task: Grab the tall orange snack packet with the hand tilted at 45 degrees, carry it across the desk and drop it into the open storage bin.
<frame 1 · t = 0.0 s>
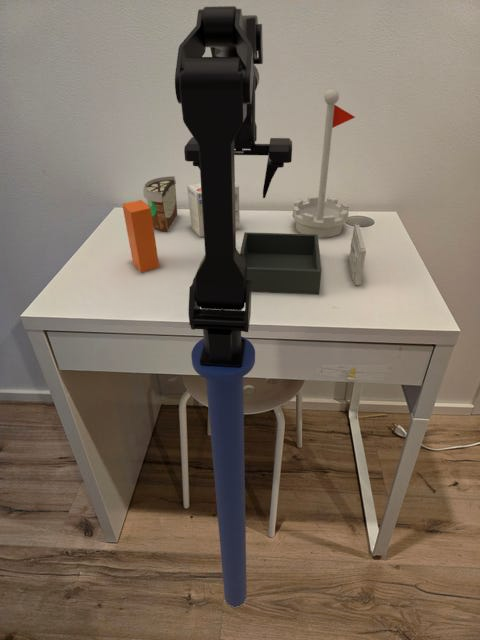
hand: (239, 196, 82), 15 cm above the table, tool pointing down, fingers open, 9 cm apart
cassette: (354, 271, 89), on the table
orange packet: (145, 265, 92), on the table
light bulb box: (215, 229, 106), on the table
flag stand: (318, 228, 105), on the table
food container: (161, 224, 109), on the table
open storage bin: (278, 272, 88), on the table
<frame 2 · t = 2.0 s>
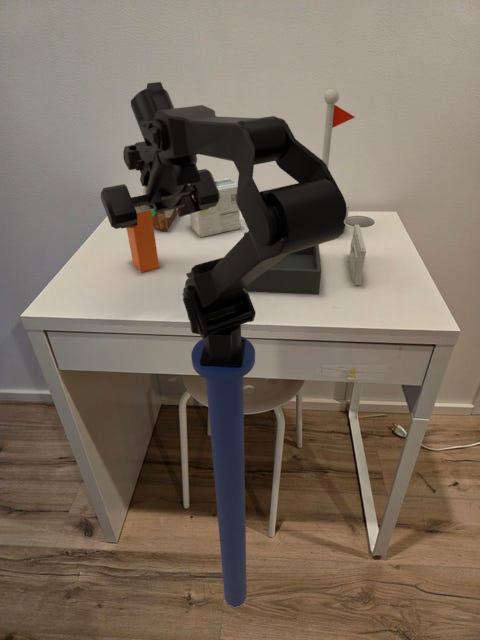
hand: (155, 220, 79), 13 cm above the table, tool tilted 45°, fingers open, 9 cm apart
nothing on the table moved.
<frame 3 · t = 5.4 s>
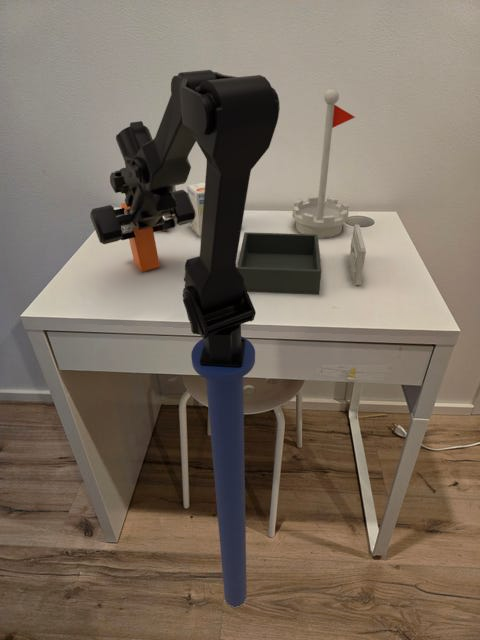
hand: (138, 233, 89), 7 cm above the table, tool tilted 45°, fingers closed on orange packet, 4 cm apart
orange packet: (146, 264, 92), on the table, touching gripper
everything else where it was.
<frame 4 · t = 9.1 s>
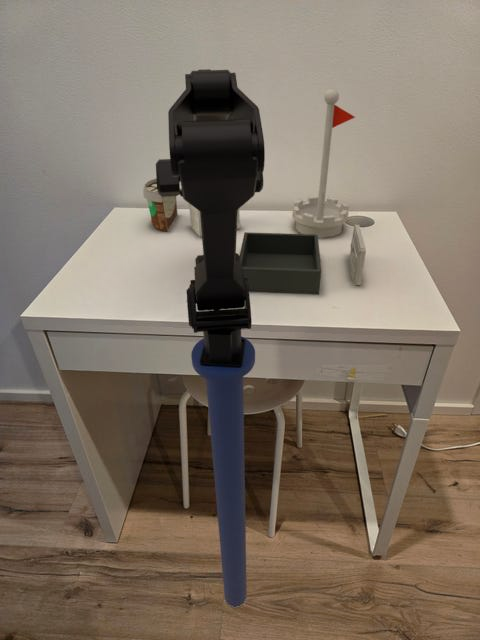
hand: (210, 196, 86), 14 cm above the table, tool tilted 45°, fingers closed on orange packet, 4 cm apart
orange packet: (213, 230, 89), point 7 cm above the table, touching gripper
everything else where it was.
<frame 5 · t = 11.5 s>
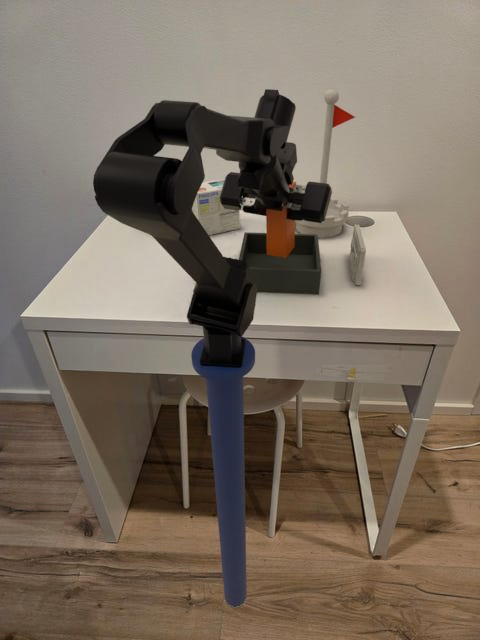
hand: (283, 216, 83), 12 cm above the table, tool tilted 45°, fingers closed on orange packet, 4 cm apart
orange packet: (280, 250, 85), point 5 cm above the table, touching gripper
everything else where it was.
when the fingers open (7 cm above the table, at t = 13.1 s): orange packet stays where it is, resting on open storage bin.
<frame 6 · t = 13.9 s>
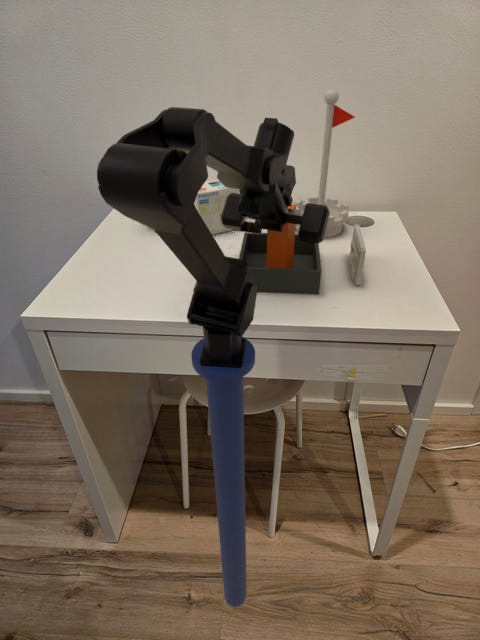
hand: (282, 234, 85), 8 cm above the table, tool tilted 45°, fingers open, 9 cm apart
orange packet: (280, 270, 88), point 1 cm above the table, touching open storage bin
everything else where it was.
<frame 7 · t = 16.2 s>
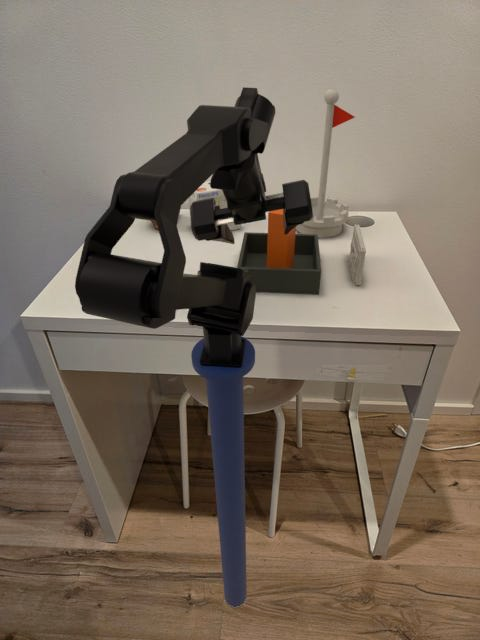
hand: (259, 236, 75), 12 cm above the table, tool tilted 35°, fingers open, 9 cm apart
nothing on the table moved.
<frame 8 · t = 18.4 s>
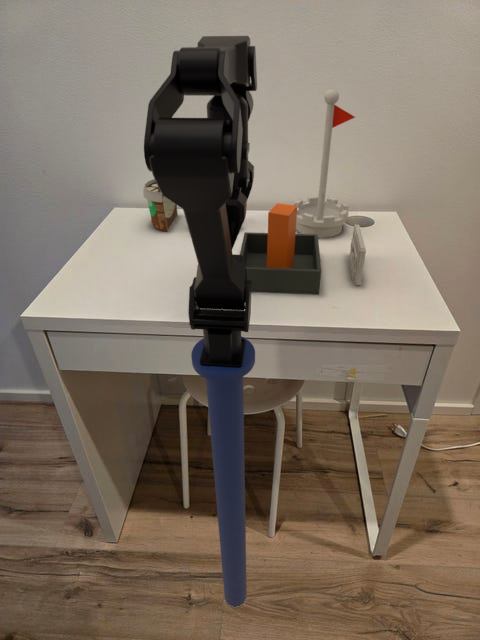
hand: (231, 238, 72), 13 cm above the table, tool pointing down, fingers open, 9 cm apart
nothing on the table moved.
at the end: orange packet inside the target area in the open storage bin (0.2 cm from its centre), point 0.5 cm above the open storage bin's base; the gripper is holding nothing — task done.
